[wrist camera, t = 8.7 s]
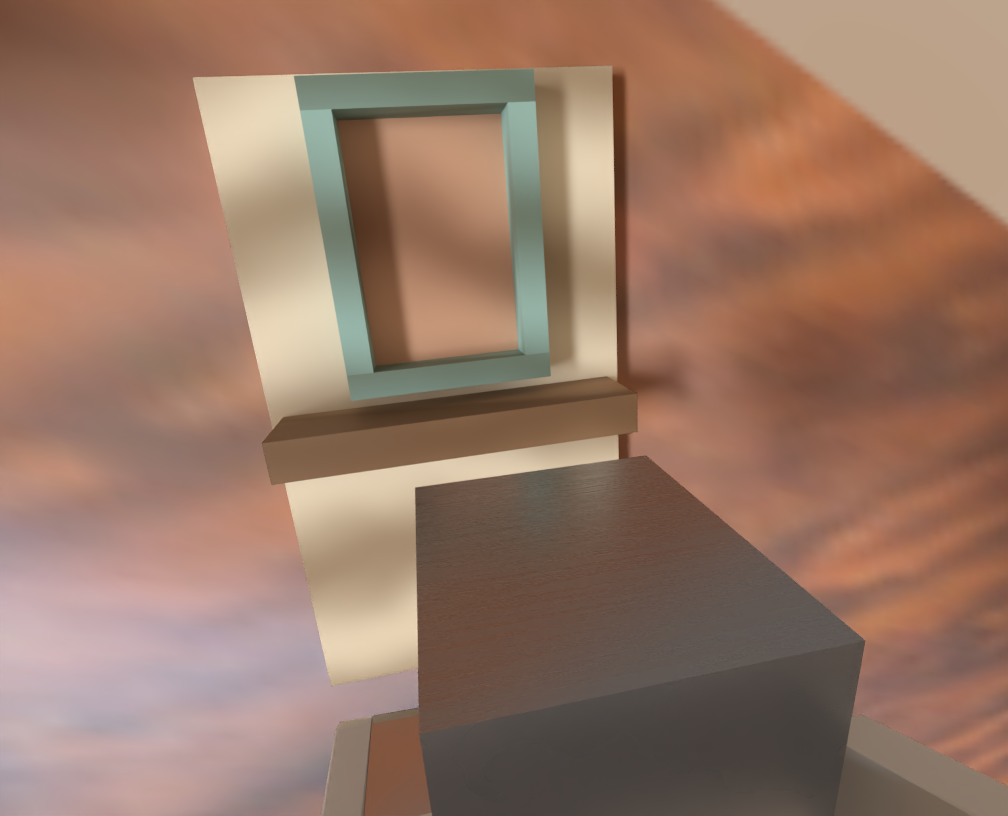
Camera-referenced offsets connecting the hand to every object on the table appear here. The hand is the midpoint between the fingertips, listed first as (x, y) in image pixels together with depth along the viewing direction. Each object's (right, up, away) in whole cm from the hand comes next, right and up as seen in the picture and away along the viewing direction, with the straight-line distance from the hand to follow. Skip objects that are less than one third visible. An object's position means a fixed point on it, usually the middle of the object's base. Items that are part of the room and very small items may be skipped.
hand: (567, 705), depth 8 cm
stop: (0, 0, +1) cm, 2 cm away
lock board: (-3, +5, +15) cm, 16 cm away
